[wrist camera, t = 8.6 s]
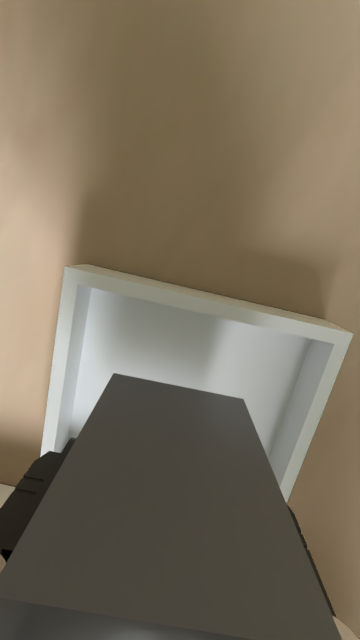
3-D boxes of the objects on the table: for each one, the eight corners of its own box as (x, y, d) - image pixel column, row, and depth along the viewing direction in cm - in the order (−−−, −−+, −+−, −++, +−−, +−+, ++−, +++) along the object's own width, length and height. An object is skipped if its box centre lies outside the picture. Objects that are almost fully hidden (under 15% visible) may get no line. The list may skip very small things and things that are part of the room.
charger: (243, 398, 11) (348, 655, 4) (201, 539, 12) (224, 891, 6) (113, 372, 11) (-13, 595, 4) (88, 519, 12) (-31, 860, 5)
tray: (324, 319, 14) (353, 333, 12) (260, 496, 17) (272, 539, 14) (86, 263, 14) (64, 266, 11) (58, 453, 16) (35, 488, 14)
